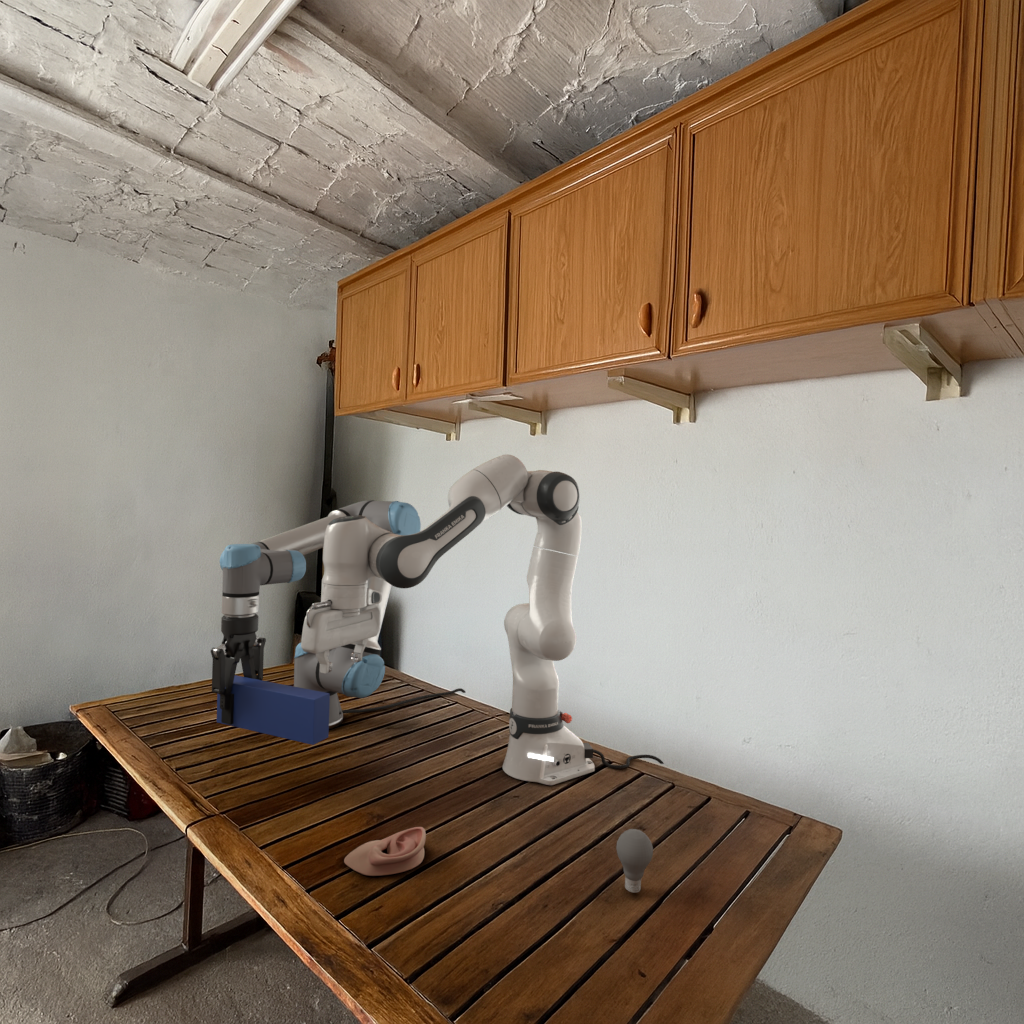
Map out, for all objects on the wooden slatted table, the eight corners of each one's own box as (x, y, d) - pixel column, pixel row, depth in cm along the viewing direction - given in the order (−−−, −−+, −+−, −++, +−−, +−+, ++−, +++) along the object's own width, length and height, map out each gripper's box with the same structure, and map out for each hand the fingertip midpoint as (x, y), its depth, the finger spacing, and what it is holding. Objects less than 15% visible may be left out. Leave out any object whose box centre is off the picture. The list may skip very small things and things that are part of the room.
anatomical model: (336, 847, 108) (365, 815, 119) (335, 870, 108) (364, 836, 119) (410, 859, 105) (432, 825, 116) (409, 883, 105) (431, 846, 116)
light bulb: (610, 879, 108) (613, 822, 108) (644, 879, 109) (647, 822, 109) (619, 902, 102) (622, 840, 102) (655, 901, 103) (658, 840, 103)
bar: (216, 722, 139) (217, 680, 139) (233, 715, 144) (234, 675, 143) (313, 745, 129) (314, 699, 129) (328, 737, 133) (329, 693, 133)
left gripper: (220, 623, 130) (216, 735, 130) (282, 610, 146) (279, 710, 147) (193, 619, 133) (190, 729, 133) (257, 606, 149) (255, 704, 150)
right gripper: (321, 606, 115) (318, 682, 115) (387, 592, 133) (384, 658, 134) (294, 602, 117) (291, 676, 117) (362, 590, 136) (359, 654, 136)
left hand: (237, 718), depth 140 cm, fingers closed on bar, 5 cm apart
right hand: (341, 666), depth 126 cm, fingers open, 8 cm apart
